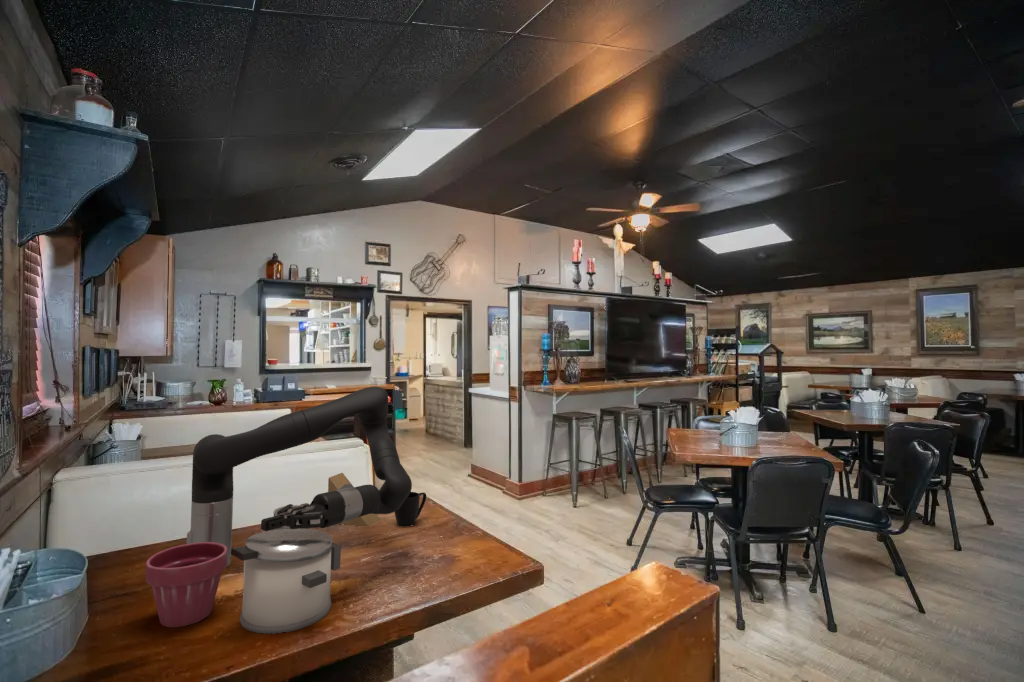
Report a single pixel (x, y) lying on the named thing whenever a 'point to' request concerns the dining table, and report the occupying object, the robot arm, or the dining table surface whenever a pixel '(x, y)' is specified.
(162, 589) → the plant pot
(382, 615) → the dining table surface
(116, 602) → the dining table surface
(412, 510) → the mug
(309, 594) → the oval food canister
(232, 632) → the dining table surface
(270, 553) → the lid
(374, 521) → the sandwich container
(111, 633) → the dining table surface
